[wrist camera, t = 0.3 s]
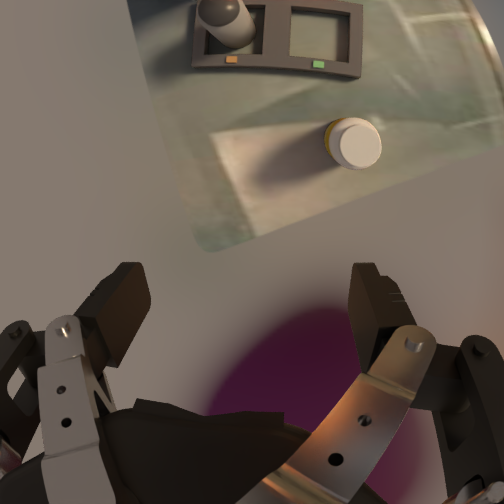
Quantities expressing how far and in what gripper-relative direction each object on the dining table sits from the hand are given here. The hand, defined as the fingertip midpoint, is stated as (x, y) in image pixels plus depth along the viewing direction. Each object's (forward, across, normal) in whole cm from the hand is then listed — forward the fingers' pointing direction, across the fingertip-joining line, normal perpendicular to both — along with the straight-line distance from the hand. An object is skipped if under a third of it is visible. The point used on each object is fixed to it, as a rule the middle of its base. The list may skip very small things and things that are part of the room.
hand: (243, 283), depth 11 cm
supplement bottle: (+28, -9, -2) cm, 29 cm away
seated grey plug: (+30, +3, -16) cm, 34 cm away
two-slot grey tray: (+29, -2, -16) cm, 33 cm away
